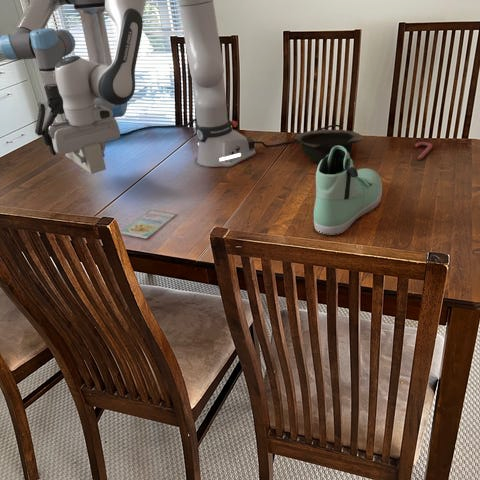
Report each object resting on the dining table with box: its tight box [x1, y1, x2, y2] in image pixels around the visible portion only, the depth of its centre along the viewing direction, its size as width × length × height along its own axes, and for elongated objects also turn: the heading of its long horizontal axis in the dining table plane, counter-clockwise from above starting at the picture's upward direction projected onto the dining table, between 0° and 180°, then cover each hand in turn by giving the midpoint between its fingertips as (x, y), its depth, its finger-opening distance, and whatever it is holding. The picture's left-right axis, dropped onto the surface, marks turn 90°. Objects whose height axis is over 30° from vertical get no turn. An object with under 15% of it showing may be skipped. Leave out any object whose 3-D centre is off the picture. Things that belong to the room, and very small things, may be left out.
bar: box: [64, 143, 107, 175], centre depth 153 cm, size 22×5×8 cm, turn 38°
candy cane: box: [414, 141, 434, 161], centre depth 170 cm, size 6×15×2 cm, turn 145°
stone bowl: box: [292, 129, 365, 164], centre depth 172 cm, size 25×25×9 cm
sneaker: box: [313, 146, 383, 236], centre depth 133 cm, size 14×35×20 cm, turn 152°
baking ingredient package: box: [120, 209, 176, 239], centre depth 139 cm, size 9×1×15 cm
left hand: (73, 148), depth 160 cm, fingers open, 13 cm apart
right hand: (92, 159), depth 149 cm, fingers closed on bar, 5 cm apart
